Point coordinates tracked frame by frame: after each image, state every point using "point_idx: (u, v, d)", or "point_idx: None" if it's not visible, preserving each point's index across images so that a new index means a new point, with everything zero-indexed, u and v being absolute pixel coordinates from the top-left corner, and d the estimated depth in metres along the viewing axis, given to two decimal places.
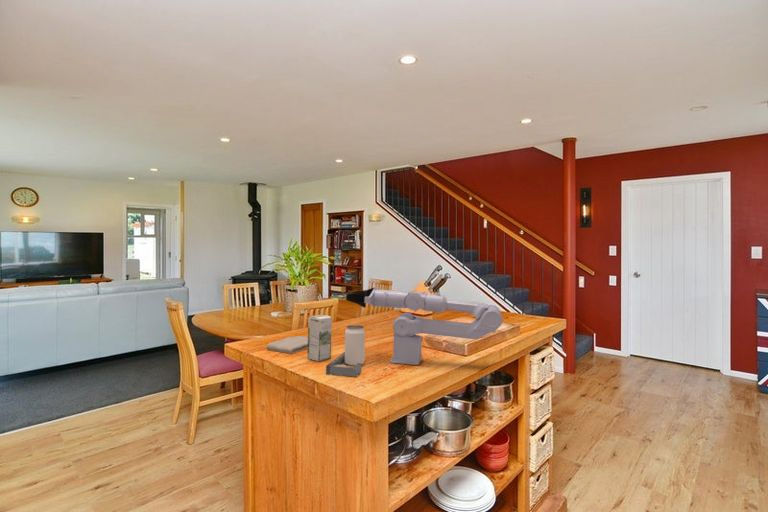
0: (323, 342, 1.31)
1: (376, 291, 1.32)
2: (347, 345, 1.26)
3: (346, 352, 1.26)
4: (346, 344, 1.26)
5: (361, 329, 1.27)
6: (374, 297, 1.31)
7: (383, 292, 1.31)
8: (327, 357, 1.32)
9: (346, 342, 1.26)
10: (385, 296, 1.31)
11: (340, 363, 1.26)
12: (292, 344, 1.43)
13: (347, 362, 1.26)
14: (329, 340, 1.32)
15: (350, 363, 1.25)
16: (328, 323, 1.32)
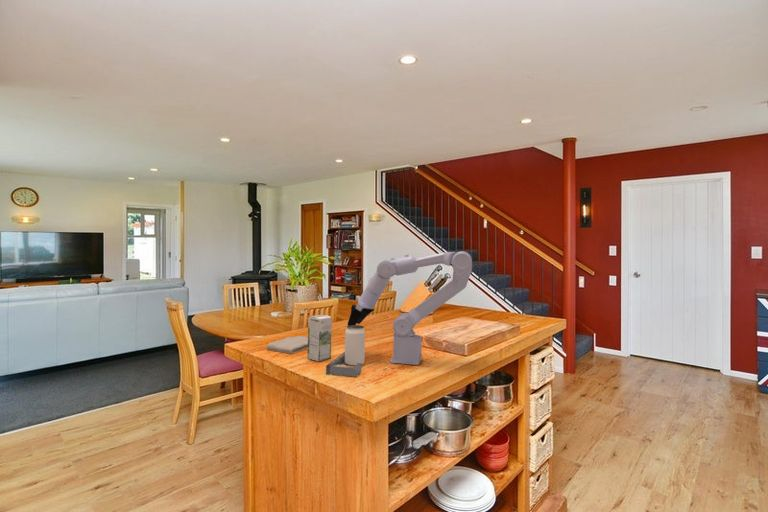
0: (323, 342, 1.31)
1: (360, 297, 1.33)
2: (347, 345, 1.26)
3: (346, 352, 1.26)
4: (346, 344, 1.26)
5: (361, 329, 1.27)
6: (363, 301, 1.32)
7: (364, 291, 1.33)
8: (327, 357, 1.32)
9: (346, 342, 1.26)
10: (368, 291, 1.32)
11: (340, 363, 1.26)
12: (292, 344, 1.43)
13: (347, 362, 1.26)
14: (329, 340, 1.32)
15: (350, 363, 1.25)
16: (328, 323, 1.32)
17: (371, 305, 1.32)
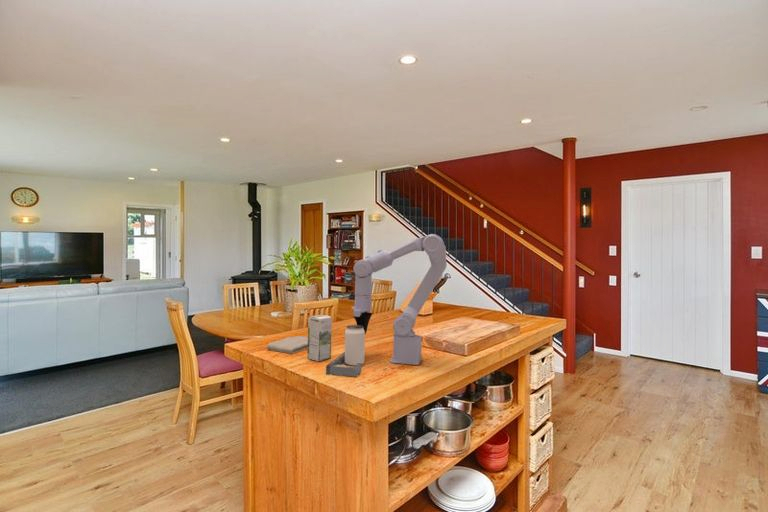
0: (323, 342, 1.31)
1: (355, 306, 1.34)
2: (347, 345, 1.26)
3: (346, 352, 1.26)
4: (346, 344, 1.26)
5: (361, 329, 1.27)
6: (359, 307, 1.32)
7: (355, 299, 1.33)
8: (327, 357, 1.32)
9: (346, 342, 1.26)
10: (358, 296, 1.32)
11: (340, 363, 1.26)
12: (292, 344, 1.43)
13: (347, 362, 1.26)
14: (329, 340, 1.32)
15: (350, 363, 1.25)
16: (328, 323, 1.32)
17: (367, 307, 1.33)
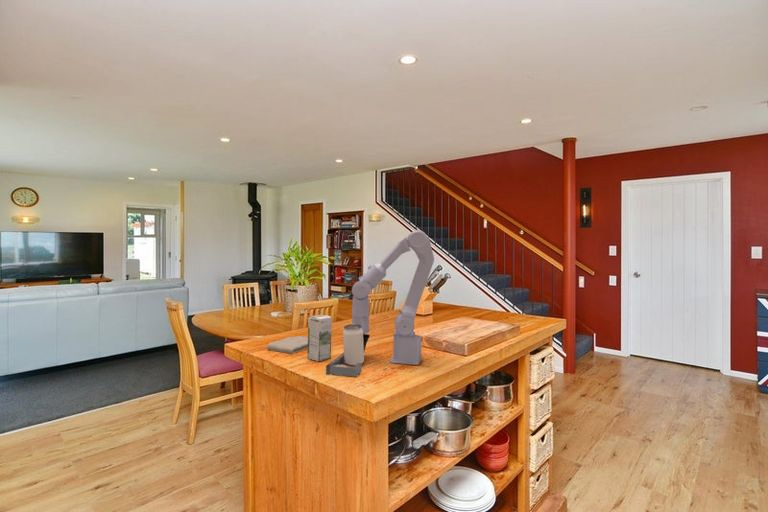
0: (323, 342, 1.31)
1: None
2: (346, 346, 1.25)
3: (345, 352, 1.26)
4: (345, 345, 1.26)
5: (359, 329, 1.25)
6: None
7: (352, 321, 1.31)
8: (327, 357, 1.32)
9: (344, 343, 1.25)
10: (355, 318, 1.30)
11: (340, 363, 1.26)
12: (293, 344, 1.43)
13: (347, 362, 1.26)
14: (329, 340, 1.32)
15: (350, 363, 1.25)
16: (328, 323, 1.32)
17: (365, 329, 1.30)
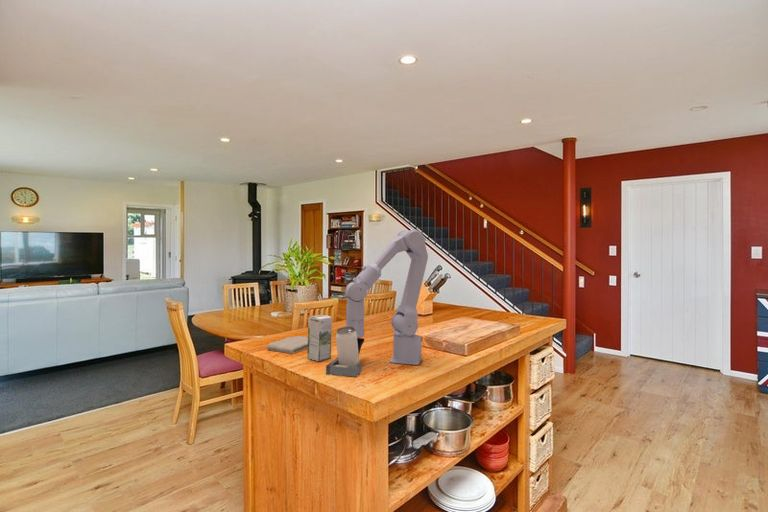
0: (323, 342, 1.31)
1: None
2: (339, 350, 1.20)
3: (339, 357, 1.21)
4: (338, 349, 1.20)
5: (352, 333, 1.19)
6: None
7: (346, 324, 1.25)
8: (327, 357, 1.32)
9: (338, 347, 1.20)
10: (349, 321, 1.24)
11: None
12: (293, 344, 1.43)
13: None
14: (329, 340, 1.32)
15: None
16: (328, 323, 1.32)
17: (359, 333, 1.24)
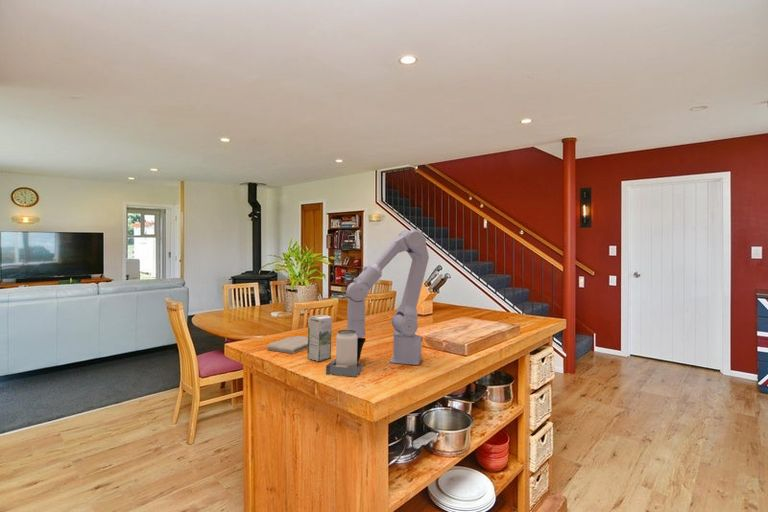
0: (323, 342, 1.31)
1: None
2: (338, 351, 1.18)
3: (337, 358, 1.19)
4: (337, 350, 1.19)
5: (353, 334, 1.19)
6: None
7: (347, 324, 1.26)
8: (327, 357, 1.32)
9: (337, 348, 1.19)
10: (350, 322, 1.25)
11: None
12: (293, 344, 1.43)
13: None
14: (329, 340, 1.32)
15: None
16: (328, 323, 1.32)
17: (361, 333, 1.25)
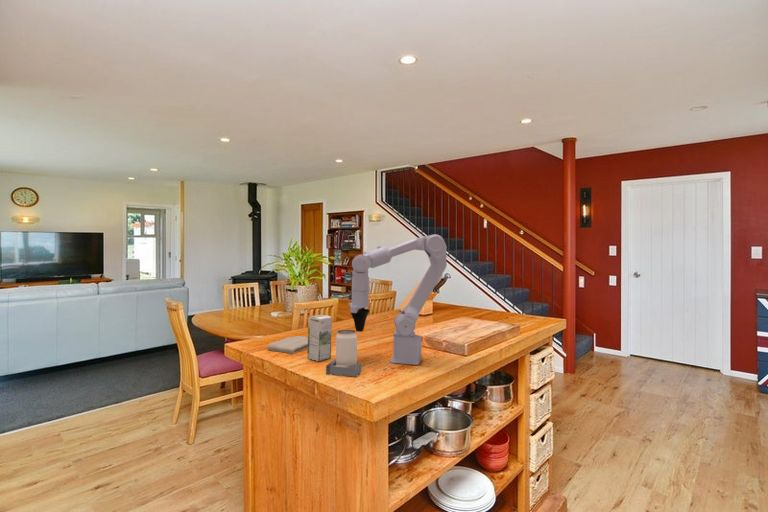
0: (323, 342, 1.31)
1: None
2: (338, 351, 1.19)
3: (337, 358, 1.19)
4: (337, 350, 1.19)
5: (352, 334, 1.19)
6: (356, 304, 1.29)
7: (352, 295, 1.30)
8: (327, 357, 1.32)
9: (337, 348, 1.19)
10: (354, 292, 1.29)
11: None
12: (293, 344, 1.43)
13: None
14: (329, 340, 1.32)
15: None
16: (328, 323, 1.32)
17: (365, 303, 1.29)
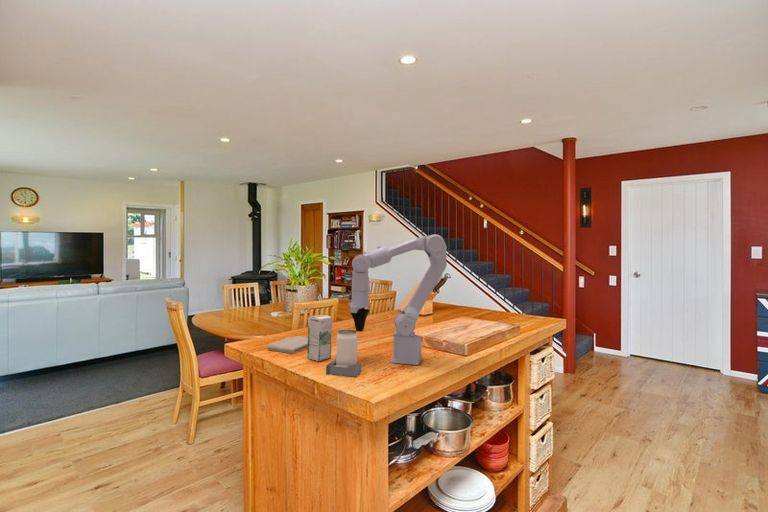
0: (323, 342, 1.31)
1: None
2: (338, 351, 1.18)
3: (337, 358, 1.19)
4: (337, 350, 1.19)
5: (353, 334, 1.19)
6: (356, 304, 1.29)
7: (352, 295, 1.30)
8: (327, 357, 1.32)
9: (337, 348, 1.19)
10: (354, 292, 1.29)
11: None
12: (293, 344, 1.43)
13: None
14: (329, 340, 1.32)
15: None
16: (328, 323, 1.32)
17: (365, 303, 1.29)
